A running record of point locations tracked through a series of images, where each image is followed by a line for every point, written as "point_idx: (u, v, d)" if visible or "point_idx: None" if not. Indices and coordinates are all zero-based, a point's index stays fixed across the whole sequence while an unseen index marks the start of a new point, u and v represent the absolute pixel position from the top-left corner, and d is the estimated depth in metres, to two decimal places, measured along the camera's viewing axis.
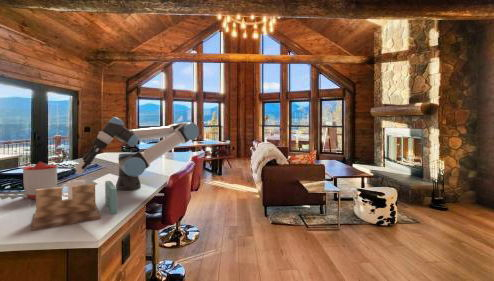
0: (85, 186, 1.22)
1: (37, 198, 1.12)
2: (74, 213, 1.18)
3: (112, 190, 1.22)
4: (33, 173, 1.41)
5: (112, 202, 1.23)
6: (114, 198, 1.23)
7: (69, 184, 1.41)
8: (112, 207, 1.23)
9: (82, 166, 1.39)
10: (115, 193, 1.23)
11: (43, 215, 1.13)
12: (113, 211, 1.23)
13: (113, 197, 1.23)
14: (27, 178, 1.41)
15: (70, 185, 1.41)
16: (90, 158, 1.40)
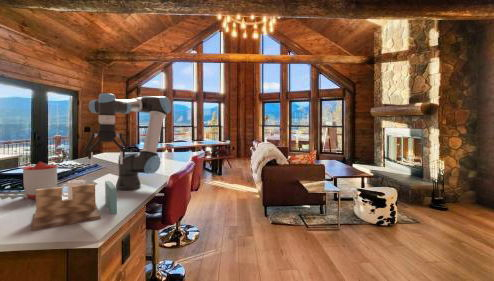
0: (85, 186, 1.22)
1: (37, 198, 1.12)
2: (74, 213, 1.18)
3: (112, 190, 1.22)
4: (33, 173, 1.41)
5: (112, 202, 1.23)
6: (114, 198, 1.23)
7: (69, 184, 1.41)
8: (112, 207, 1.23)
9: (123, 155, 1.39)
10: (115, 193, 1.23)
11: (43, 215, 1.13)
12: (113, 211, 1.23)
13: (113, 197, 1.23)
14: (27, 178, 1.41)
15: (70, 185, 1.41)
16: (126, 145, 1.40)
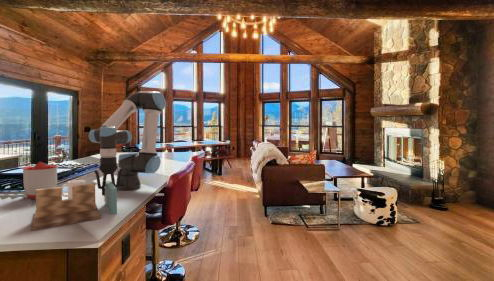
0: (85, 186, 1.22)
1: (37, 198, 1.12)
2: (74, 213, 1.18)
3: (112, 190, 1.22)
4: (33, 173, 1.41)
5: (112, 202, 1.23)
6: (114, 198, 1.23)
7: (69, 184, 1.41)
8: (112, 207, 1.23)
9: None
10: (115, 193, 1.23)
11: (43, 215, 1.13)
12: (113, 211, 1.23)
13: (113, 197, 1.23)
14: (27, 178, 1.41)
15: (70, 185, 1.41)
16: None
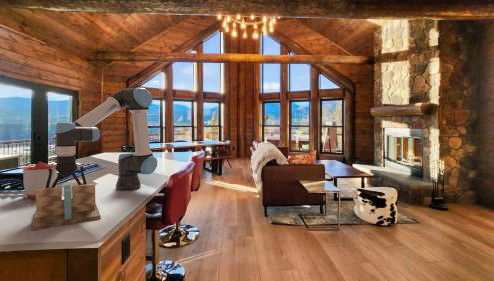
0: (85, 186, 1.22)
1: (37, 198, 1.12)
2: (74, 213, 1.18)
3: (65, 193, 1.10)
4: (33, 173, 1.41)
5: (66, 206, 1.10)
6: (68, 202, 1.11)
7: None
8: (66, 212, 1.11)
9: None
10: (69, 196, 1.11)
11: (43, 215, 1.13)
12: (67, 216, 1.11)
13: (67, 201, 1.11)
14: (27, 178, 1.41)
15: (70, 185, 1.41)
16: (85, 179, 1.28)
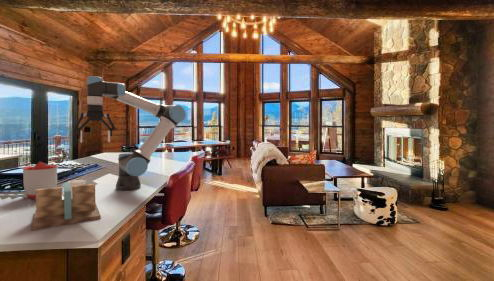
0: (85, 186, 1.22)
1: (37, 198, 1.12)
2: (74, 213, 1.18)
3: (65, 193, 1.10)
4: (33, 173, 1.41)
5: (66, 206, 1.10)
6: (68, 202, 1.11)
7: None
8: (66, 212, 1.11)
9: (110, 134, 1.51)
10: (69, 196, 1.11)
11: (43, 215, 1.13)
12: (67, 216, 1.11)
13: (67, 201, 1.11)
14: (27, 178, 1.41)
15: (70, 185, 1.41)
16: None
